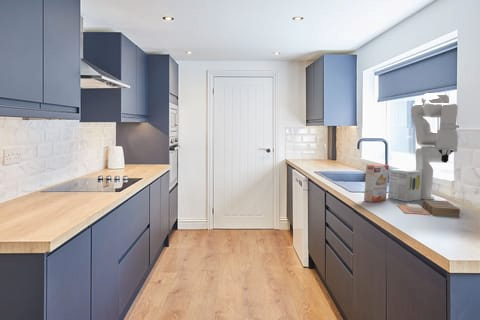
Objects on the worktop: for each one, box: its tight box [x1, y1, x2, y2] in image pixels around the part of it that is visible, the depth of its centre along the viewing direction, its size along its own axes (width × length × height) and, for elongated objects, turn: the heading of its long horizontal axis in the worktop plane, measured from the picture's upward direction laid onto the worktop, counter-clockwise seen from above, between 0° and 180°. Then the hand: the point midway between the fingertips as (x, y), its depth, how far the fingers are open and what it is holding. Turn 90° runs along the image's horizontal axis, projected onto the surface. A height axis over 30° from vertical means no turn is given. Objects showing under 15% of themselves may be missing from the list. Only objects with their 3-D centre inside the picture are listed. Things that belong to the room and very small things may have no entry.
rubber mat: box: [396, 204, 431, 216], centre depth 202 cm, size 20×12×1 cm, turn 168°
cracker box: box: [363, 163, 390, 203], centre depth 224 cm, size 14×6×21 cm, turn 126°
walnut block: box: [421, 199, 461, 218], centre depth 199 cm, size 20×12×4 cm, turn 168°
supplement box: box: [387, 168, 422, 202], centre depth 233 cm, size 13×13×18 cm
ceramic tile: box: [405, 203, 424, 212], centre depth 201 cm, size 9×6×2 cm, turn 169°
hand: (444, 162), depth 204 cm, fingers closed
